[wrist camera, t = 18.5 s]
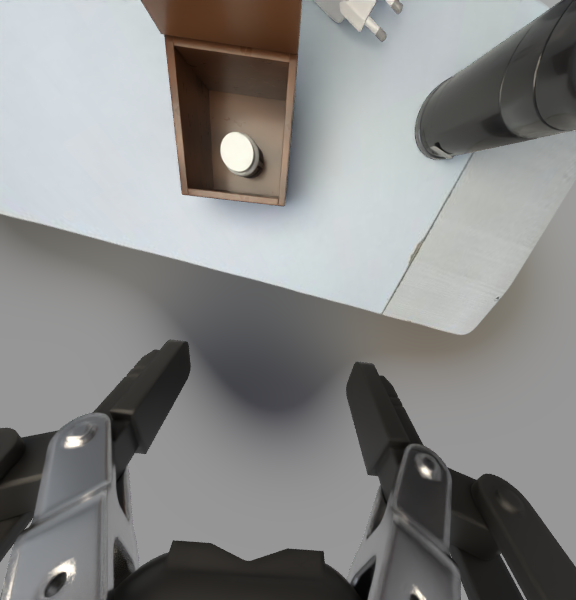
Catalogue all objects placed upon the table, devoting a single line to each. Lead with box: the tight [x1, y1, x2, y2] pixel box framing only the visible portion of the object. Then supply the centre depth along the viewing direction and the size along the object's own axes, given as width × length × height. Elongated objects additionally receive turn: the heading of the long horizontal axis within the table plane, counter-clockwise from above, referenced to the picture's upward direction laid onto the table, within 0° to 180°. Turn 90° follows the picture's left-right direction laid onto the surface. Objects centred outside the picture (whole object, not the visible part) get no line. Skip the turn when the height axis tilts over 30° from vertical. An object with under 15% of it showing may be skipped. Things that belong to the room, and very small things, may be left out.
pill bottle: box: [220, 132, 264, 178], centre depth 29 cm, size 5×5×8 cm
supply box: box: [164, 34, 298, 206], centre depth 28 cm, size 14×13×11 cm
